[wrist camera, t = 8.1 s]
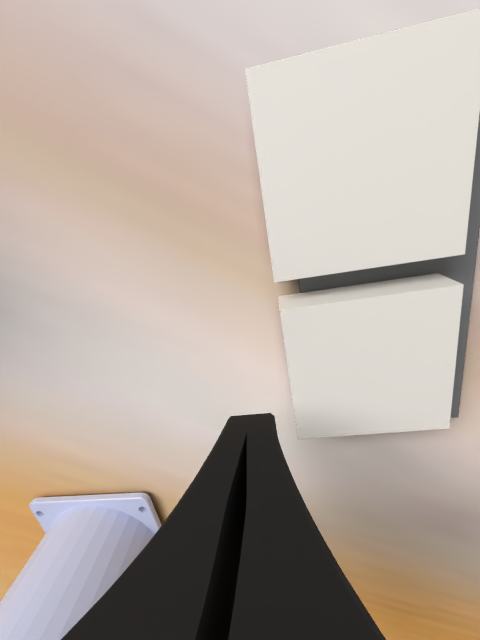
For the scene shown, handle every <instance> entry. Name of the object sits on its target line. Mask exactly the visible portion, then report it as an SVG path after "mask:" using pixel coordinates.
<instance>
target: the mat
mask: <svg viewBox="0 0 480 640" xmlns="http://www.w3.org/2000/svg"><path fill="white" fill-rule="evenodd" d="M479 228H480V113H479V123H478V132H477V142H476V152H475V161H474V171H473V181H472V191H471V200H470V210H469V220H468V229H467V239H466V249H465V254H464V255H457V256H450V257H443V258H437V259H430V260H423V261H416V262H409V263H403V264H396V265H389V266H382V267H376V268H369V269H362V270H355V271H348V272H342V273H335V274H328V275H321V276H315V277H308V278H301V279H299V286H300V293H304V292H311V291H318V290H325V289H331V288H338V287H345V286H352V285H359V284H366V283H373V282H380V281H386V280H393V279H400V278H407V277H414V276H421V275H428V274H435V273H439V274H441V275H443V276H445V277H448V278H450V279H452V280H455V281H457V282H459V283H461V284H464V286H463V296H462V306H461V316H460V326H459V336H458V346H457V356H456V366H455V376H454V386H453V396H452V406H451V416H450V418H454V417H458V414H459V405H460V396H461V387H462V378H463V370H464V361H465V352H466V343H467V334H468V325H469V317H470V308H471V299H472V290H473V281H474V272H475V264H476V255H477V246H478V237H479Z"/></svg>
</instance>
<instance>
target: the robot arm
mask: <svg viewBox="0 0 480 640" xmlns="http://www.w3.org/2000/svg"><path fill="white" fill-rule="evenodd" d="M29 507H30V509H31V511H32V512H33V514H34V515H35V517H36V519H37V520H38V522H39V523H40V525H41V526H42V528H43V530H44V531H45V533H46V534H45V536H44V537H43V539H42V540H41V542H40V543H39V545H38V546H37V548H36V549H35V551H34V552H33V554H32V555H31V557H30V558H29V560H28V561H27V563H26V564H25V566H24V567H23V569H22V571H21V572H20V574H19V575H18V577H17V578H16V580H15V581H14V583H13V584H12V586H11V587H10V589H9V590H8V592H7V593H6V595H5V596H4V598H3V599H2V601H1V602H0V640H386V639H385V637H384V636H383V635H382V633H381V632H380V630H379V628H378V627H377V625H376V624H375V622H374V621H373V619H372V617H371V616H370V614H369V613H368V611H367V610H366V608H365V606H364V605H363V603H362V602H361V600H360V599H359V597H358V595H357V594H356V592H355V591H354V589H353V588H352V586H351V584H350V583H349V581H348V580H347V578H346V577H345V575H344V573H343V572H342V570H341V568H340V567H339V565H338V563H337V561H336V560H335V558H334V556H333V555H332V553H331V551H330V549H329V548H328V546H327V544H326V542H325V541H324V539H323V537H322V535H321V533H320V532H319V530H318V528H317V526H316V524H315V522H314V520H313V519H312V517H311V515H310V513H309V511H308V509H307V507H306V505H305V503H304V501H303V499H302V497H301V495H300V492H299V490H298V488H297V486H296V484H295V482H294V479H293V477H292V475H291V472H290V470H289V467H288V465H287V463H286V460H285V458H284V455H283V452H282V449H281V446H280V443H279V440H278V436H277V430H276V424H275V417H274V415H272V414H271V413H266V414H253V415H241V416H231V417H230V418H229V419H228V421H227V423H226V425H225V427H224V429H223V431H222V432H221V434H220V436H219V438H218V440H217V442H216V443H215V445H214V447H213V449H212V451H211V452H210V454H209V456H208V457H207V459H206V461H205V462H204V464H203V466H202V467H201V469H200V471H199V472H198V474H197V475H196V477H195V479H194V480H193V482H192V483H191V485H190V486H189V487H188V489H187V490H186V492H185V493H184V495H183V496H182V498H181V499H180V501H179V502H178V504H177V505H176V507H175V508H174V509H173V511H172V512H171V514H170V515H169V516H168V518H167V519H166V520H165V522H164V523H163V524H162V525H161V522H160V520H159V518H158V515H157V513H156V510H155V508H154V506H153V503H152V501H151V498H150V497H149V495H147V494H146V493H142V492H139V493H119V494H98V495H78V496H58V497H38V498H34V499H33V500H32V502H31V503H30V505H29Z"/></svg>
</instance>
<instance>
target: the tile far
mask: <svg viewBox="0 0 480 640" xmlns="http://www.w3.org/2000/svg"><path fill="white" fill-rule="evenodd" d="M463 286H464V284H461V283H459V282H457V281H455V280H452V279H450V278H448V277H445V276H443V275H441V274H439V273H435V274H428V275H421V276H414V277H407V278H400V279H393V280H386V281H380V282H373V283H366V284H359V285H352V286H345V287H338V288H331V289H325V290H318V291H311V292H304V293H297V294H290V295H283V296H278V299H279V309H280V316H281V323H282V330H283V337H284V345H285V352H286V359H287V366H288V373H289V380H290V387H291V394H292V401H293V409H294V416H295V423H296V430H297V437H298V439H310V438H324V437H338V436H352V435H366V434H379V433H393V432H407V431H421V430H435V429H448V428H449V426H450V416H451V406H452V396H453V386H454V376H455V366H456V356H457V346H458V336H459V326H460V316H461V306H462V296H463Z"/></svg>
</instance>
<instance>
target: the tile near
mask: <svg viewBox="0 0 480 640" xmlns="http://www.w3.org/2000/svg"><path fill="white" fill-rule="evenodd" d="M245 73H246V80H247V88H248V95H249V102H250V109H251V117H252V124H253V131H254V139H255V146H256V153H257V160H258V168H259V175H260V182H261V190H262V197H263V204H264V211H265V219H266V226H267V233H268V241H269V248H270V255H271V262H272V270H273V277H274V282H281V281H288V280H294V279H301V278H308V277H315V276H321V275H328V274H335V273H342V272H348V271H355V270H362V269H369V268H376V267H382V266H389V265H396V264H403V263H409V262H416V261H423V260H430V259H437V258H443V257H450V256H457V255H464V254H465V249H466V239H467V229H468V220H469V210H470V200H471V191H472V181H473V171H474V161H475V152H476V142H477V132H478V123H479V113H480V8H478V9H474V10H470V11H466V12H462V13H459V14H455V15H451V16H447V17H443V18H439V19H435V20H431V21H428V22H424V23H420V24H416V25H412V26H408V27H404V28H400V29H397V30H393V31H389V32H385V33H381V34H377V35H373V36H370V37H366V38H362V39H358V40H354V41H350V42H346V43H342V44H339V45H335V46H331V47H327V48H323V49H319V50H315V51H311V52H308V53H304V54H300V55H296V56H292V57H288V58H284V59H280V60H277V61H273V62H269V63H265V64H261V65H257V66H253V67H249V68H246V69H245Z"/></svg>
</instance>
